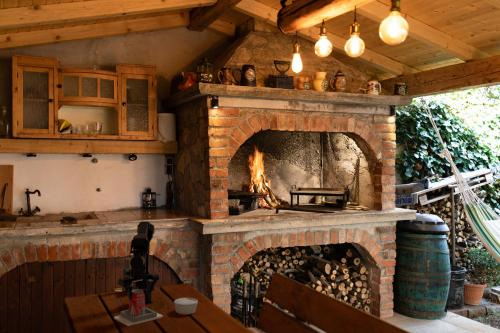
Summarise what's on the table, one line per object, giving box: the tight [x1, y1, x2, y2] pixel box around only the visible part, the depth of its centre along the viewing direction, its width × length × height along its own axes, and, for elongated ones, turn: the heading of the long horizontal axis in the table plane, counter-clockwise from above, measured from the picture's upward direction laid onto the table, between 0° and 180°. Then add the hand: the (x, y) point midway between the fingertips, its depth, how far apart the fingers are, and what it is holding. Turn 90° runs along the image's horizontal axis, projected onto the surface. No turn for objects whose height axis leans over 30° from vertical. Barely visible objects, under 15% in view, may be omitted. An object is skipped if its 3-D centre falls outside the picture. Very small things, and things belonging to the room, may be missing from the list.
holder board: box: [113, 306, 164, 327], centre depth 212 cm, size 18×13×3 cm
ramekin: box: [173, 297, 199, 316], centre depth 222 cm, size 11×11×5 cm
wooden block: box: [121, 257, 136, 292], centre depth 254 cm, size 4×11×18 cm, turn 70°
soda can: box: [128, 289, 146, 317], centre depth 211 cm, size 7×7×12 cm
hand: (138, 297), depth 211 cm, fingers open, 9 cm apart
